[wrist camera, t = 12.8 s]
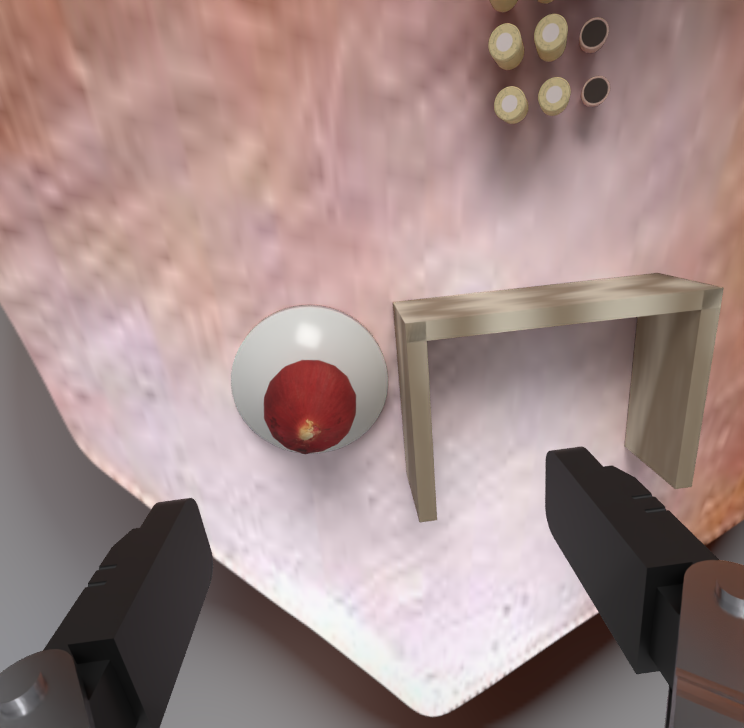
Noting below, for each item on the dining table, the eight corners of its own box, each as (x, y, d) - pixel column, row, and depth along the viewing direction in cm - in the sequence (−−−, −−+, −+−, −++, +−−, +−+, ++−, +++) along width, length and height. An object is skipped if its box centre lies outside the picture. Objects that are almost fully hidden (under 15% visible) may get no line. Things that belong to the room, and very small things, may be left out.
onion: (336, 431, 34) (337, 496, 27) (260, 406, 33) (239, 467, 26) (366, 361, 33) (375, 409, 25) (287, 333, 32) (272, 374, 24)
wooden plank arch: (657, 272, 34) (723, 287, 28) (638, 444, 38) (691, 486, 33) (392, 302, 33) (405, 323, 27) (406, 473, 37) (419, 522, 32)
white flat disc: (379, 296, 33) (381, 299, 31) (392, 436, 36) (393, 444, 35) (220, 314, 32) (216, 318, 31) (249, 453, 36) (246, 462, 35)
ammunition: (500, 122, 25) (644, 92, 25) (484, -45, 23) (644, -77, 23) (474, 134, 30) (597, 109, 30) (459, -4, 27) (593, -31, 27)
